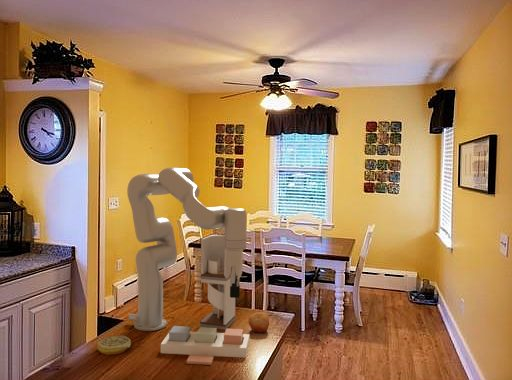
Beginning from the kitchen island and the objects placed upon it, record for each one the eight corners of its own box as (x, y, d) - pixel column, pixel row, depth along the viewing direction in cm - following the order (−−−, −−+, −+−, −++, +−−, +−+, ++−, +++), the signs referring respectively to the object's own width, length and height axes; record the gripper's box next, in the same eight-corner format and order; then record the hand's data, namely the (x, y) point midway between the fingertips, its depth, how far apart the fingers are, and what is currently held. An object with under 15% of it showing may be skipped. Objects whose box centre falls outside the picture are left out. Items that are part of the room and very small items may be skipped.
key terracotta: (223, 344, 145) (223, 335, 145) (226, 337, 151) (226, 328, 151) (241, 345, 145) (241, 335, 145) (243, 338, 151) (243, 329, 151)
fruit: (270, 322, 171) (269, 308, 167) (268, 339, 164) (268, 325, 160) (250, 321, 172) (249, 307, 167) (248, 337, 165) (247, 324, 161)
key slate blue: (169, 341, 147) (169, 332, 147) (173, 334, 153) (173, 325, 153) (186, 342, 146) (186, 333, 146) (190, 335, 152) (190, 326, 152)
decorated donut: (136, 349, 147) (136, 339, 147) (107, 359, 139) (107, 348, 139) (120, 341, 154) (120, 330, 154) (92, 350, 146) (92, 339, 146)
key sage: (196, 342, 146) (196, 333, 146) (199, 336, 152) (199, 327, 152) (213, 343, 146) (213, 334, 146) (216, 336, 152) (216, 328, 152)
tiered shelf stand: (210, 317, 180) (212, 234, 178) (234, 320, 177) (236, 236, 175) (200, 326, 169) (201, 238, 167) (225, 329, 166) (226, 240, 164)
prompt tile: (186, 363, 137) (186, 361, 137) (190, 356, 142) (190, 354, 142) (211, 364, 136) (211, 362, 136) (213, 357, 141) (213, 355, 141)
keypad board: (160, 353, 144) (160, 343, 144) (170, 339, 156) (170, 330, 156) (245, 357, 142) (246, 348, 142) (249, 343, 154) (249, 334, 154)
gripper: (227, 240, 154) (227, 290, 155) (220, 247, 139) (220, 303, 140) (248, 240, 154) (247, 291, 154) (243, 248, 139) (243, 304, 140)
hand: (234, 296), depth 147 cm, fingers closed
